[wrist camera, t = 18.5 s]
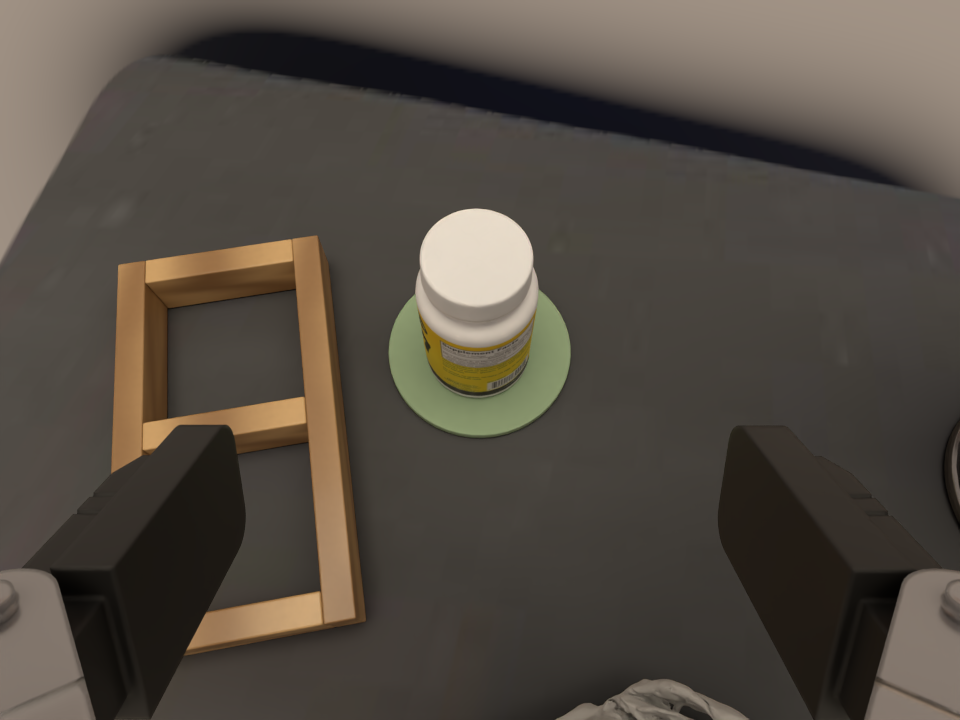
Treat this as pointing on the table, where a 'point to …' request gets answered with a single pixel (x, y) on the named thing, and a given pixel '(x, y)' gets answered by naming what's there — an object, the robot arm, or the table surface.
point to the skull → (653, 704)
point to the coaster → (488, 412)
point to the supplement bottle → (477, 301)
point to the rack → (249, 415)
